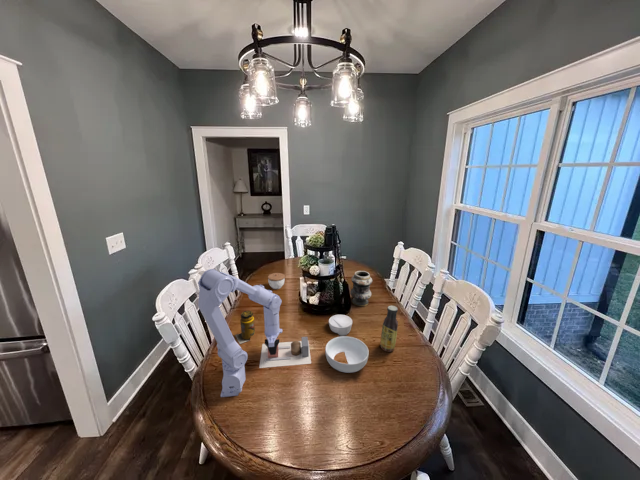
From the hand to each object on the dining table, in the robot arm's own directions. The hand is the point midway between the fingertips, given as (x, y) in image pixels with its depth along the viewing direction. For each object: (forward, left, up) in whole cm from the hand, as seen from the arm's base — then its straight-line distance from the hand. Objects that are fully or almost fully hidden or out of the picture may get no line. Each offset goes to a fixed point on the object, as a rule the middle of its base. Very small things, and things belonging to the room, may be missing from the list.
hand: (273, 350), depth 105 cm
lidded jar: (+65, +1, -4) cm, 65 cm away
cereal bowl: (-7, -29, -4) cm, 30 cm away
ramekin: (+15, -31, -4) cm, 35 cm away
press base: (0, -5, -3) cm, 6 cm away
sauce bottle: (0, -49, -4) cm, 49 cm away
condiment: (+15, +13, -4) cm, 20 cm away
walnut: (0, -9, -2) cm, 9 cm away
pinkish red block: (0, 0, -2) cm, 2 cm away
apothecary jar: (+40, -48, -4) cm, 63 cm away
